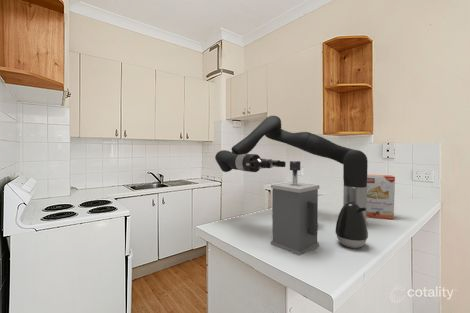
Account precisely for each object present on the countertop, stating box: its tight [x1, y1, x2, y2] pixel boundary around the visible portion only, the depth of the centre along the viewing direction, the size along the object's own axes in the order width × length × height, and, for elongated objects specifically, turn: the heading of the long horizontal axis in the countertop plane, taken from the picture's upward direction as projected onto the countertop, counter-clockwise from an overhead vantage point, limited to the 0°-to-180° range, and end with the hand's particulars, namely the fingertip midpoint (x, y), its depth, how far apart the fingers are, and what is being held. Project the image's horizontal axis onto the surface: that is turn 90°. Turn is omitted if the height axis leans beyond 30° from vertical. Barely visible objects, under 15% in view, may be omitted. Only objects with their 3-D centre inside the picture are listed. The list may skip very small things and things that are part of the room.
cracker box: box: [366, 173, 396, 221], centre depth 115 cm, size 14×6×21 cm, turn 68°
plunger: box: [289, 160, 301, 186], centre depth 81 cm, size 8×8×28 cm
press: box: [270, 181, 320, 256], centre depth 81 cm, size 12×14×21 cm
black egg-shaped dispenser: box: [335, 202, 369, 249], centre depth 81 cm, size 10×10×15 cm
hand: (277, 164), depth 87 cm, fingers open, 8 cm apart
